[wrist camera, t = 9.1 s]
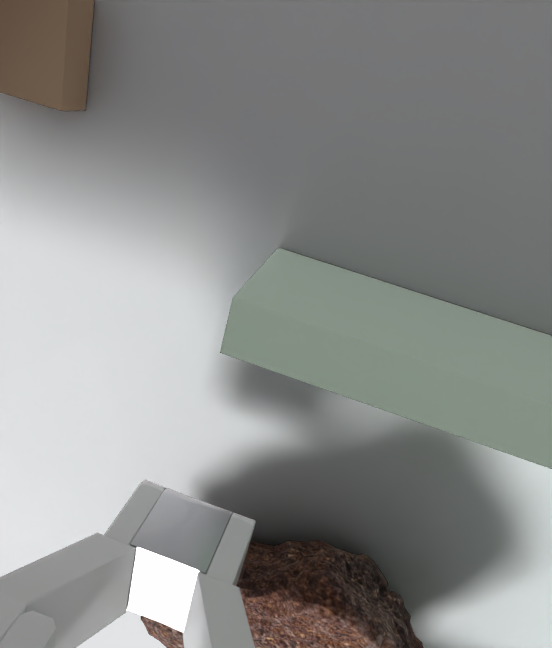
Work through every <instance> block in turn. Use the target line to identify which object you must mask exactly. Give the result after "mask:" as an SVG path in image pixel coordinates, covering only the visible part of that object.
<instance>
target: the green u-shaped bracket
mask: <svg viewBox="0 0 552 648" xmlns="http://www.w3.org/2000/svg"><path fill="white" fill-rule="evenodd" d="M220 353H222V354H225V355H228V356H231V357H234V358H236V359H239V360H242V361H245V362H248V363H251V364H254V365H256V366H259V367H262V368H265V369H268V370H271V371H274V372H276V373H279V374H282V375H285V376H288V377H291V378H294V379H296V380H299V381H302V382H305V383H308V384H311V385H314V386H316V387H319V388H322V389H325V390H328V391H331V392H334V393H336V394H339V395H342V396H345V397H348V398H351V399H353V400H356V401H359V402H362V403H365V404H368V405H371V406H373V407H376V408H379V409H382V410H385V411H388V412H391V413H393V414H396V415H399V416H402V417H405V418H408V419H411V420H413V421H416V422H419V423H422V424H425V425H428V426H431V427H433V428H436V429H439V430H442V431H445V432H448V433H451V434H453V435H456V436H459V437H462V438H465V439H468V440H471V441H473V442H476V443H479V444H482V445H485V446H488V447H490V448H493V449H496V450H499V451H502V452H505V453H508V454H510V455H513V456H516V457H519V458H522V459H525V460H528V461H530V462H533V463H536V464H539V465H542V466H545V467H548V468H550V469H552V336H551V335H548V334H545V333H542V332H538V331H535V330H532V329H529V328H526V327H523V326H520V325H517V324H514V323H510V322H507V321H504V320H501V319H498V318H495V317H492V316H489V315H486V314H483V313H479V312H476V311H473V310H470V309H467V308H464V307H461V306H458V305H455V304H452V303H448V302H445V301H442V300H439V299H436V298H433V297H430V296H427V295H424V294H421V293H417V292H414V291H411V290H408V289H405V288H402V287H399V286H396V285H393V284H389V283H386V282H383V281H380V280H377V279H374V278H371V277H368V276H365V275H362V274H358V273H355V272H352V271H349V270H346V269H343V268H340V267H337V266H334V265H331V264H327V263H324V262H321V261H318V260H315V259H312V258H309V257H306V256H303V255H300V254H296V253H293V252H290V251H287V250H284V249H281V248H277V250H276V251H275V252H274V253H273V254H272V255H271V256H270V257H269V258H268V259H267V261H266V262H265V263H264V264H263V265H262V266H261V267H260V268H259V269H258V270H257V272H256V273H255V274H254V275H253V276H252V277H251V278H250V279H249V280H248V281H247V283H246V284H245V285H244V286H243V287H242V288H241V289H240V290H239V291H238V292H237V294H236V295H235V296H234V297H233V299H232V303H231V308H230V312H229V316H228V320H227V325H226V329H225V333H224V338H223V342H222V346H221V351H220Z"/></svg>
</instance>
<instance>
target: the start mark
mask: <svg viewBox="0 0 552 648" xmlns="http://www.w3.org/2000/svg"><path fill="white" fill-rule="evenodd" d="M93 11H94V0H0V92H1V93H4V94H8V95H11V96H14V97H17V98H21V99H24V100H27V101H30V102H34V103H37V104H40V105H43V106H47V107H50V108H53V109H57V110H60V111H79V110H86V99H87V87H88V74H89V61H90V49H91V36H92V24H93Z"/></svg>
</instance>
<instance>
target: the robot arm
mask: <svg viewBox="0 0 552 648" xmlns="http://www.w3.org/2000/svg"><path fill="white" fill-rule="evenodd" d="M255 523H256V521H255V520H253V519H250V518H248V517H245V516H242V515H239V514H236V513H233V512H231V511H228V510H226V509H223V508H220V507H217V506H214V505H212V504H209V503H206V502H203V501H200V500H197V499H195V498H192V497H189V496H187V495H184V494H182V493H179V492H177V491H174V490H172V489H169V488H165V487H163V486H160V485H158V484H155V483H153V482H150V481H148V480H145V481H143V482H142V483H141V484H140V485H139V486H138V487H137V489H136V490H135V492H134V493H133V494H132V496H131V497H130V499H129V500H128V502H127V503H126V504H125V506H124V507H123V509H122V510H121V511H120V513H119V514H118V516H117V517H116V519H115V520H114V521H113V523H112V524H111V526H110V527H109V528H108V530H107V531H106V533H105V534H104V535H102V534H99V533H96V534H94V535H91V536H89V537H87V538H85V539H83V540H80V541H78V542H76V543H74V544H72V545H70V546H67V547H65V548H63V549H61V550H59V551H56V552H54V553H52V554H50V555H48V556H46V557H43V558H41V559H39V560H37V561H35V562H32V563H30V564H28V565H26V566H24V567H21V568H19V569H17V570H15V571H13V572H11V573H8V574H6V575H4V576H2V577H0V648H76V647H77V646H79V645H80V644H82V643H83V642H84V641H86V640H87V639H89V638H90V637H92V636H93V635H94V634H96V633H97V632H99V631H100V630H101V629H103V628H104V627H106V626H107V625H109V624H110V623H111V622H113V621H114V620H116V619H117V618H119V617H120V616H121V615H123V614H124V613H125V612H126V610H128V611H131V612H134V613H136V614H139V615H142V616H144V617H147V618H150V619H153V620H155V621H158V622H160V623H162V624H164V625H167V626H169V627H171V628H174V629H176V630H178V631H181V632H183V642H184V648H255V646H254V642H253V639H252V635H251V631H250V627H249V623H248V619H247V616H246V612H245V608H244V604H243V600H242V596H241V592H240V589H239V587H237V586H236V585H237V582H238V579H239V576H240V573H241V570H242V566H243V563H244V560H245V557H246V554H247V550H248V547H249V544H250V540H251V537H252V534H253V530H254V527H255Z"/></svg>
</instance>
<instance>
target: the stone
mask: <svg viewBox="0 0 552 648" xmlns="http://www.w3.org/2000/svg"><path fill="white" fill-rule="evenodd" d="M236 586H237V587H239V589H240V592H241V596H242V600H243V604H244V608H245V612H246V616H247V619H248V623H249V627H250V631H251V635H252V639H253V642H254V646H255V648H423V645H422V642H421V641H420V640H419V639H418V638H416V637H415V634H414V632H413V629H412V627H411V624H410V617H411V616H410V615H409V613H408V612H407V610H406V609H405V608H404V602H403V599H402V598H401V597H400V595H398V594H397V593H395V592H393V591H391V592H390V591H389V589H388V582H387V580H386V579H385V577H384V576H383V574H382V573H381V571H380V570H379V568H378V567H377V565H376V564H375V562H374V561H373V560H372V559H370V558H369V557H368V556H366V555H363V554H360V555H353V554H351V553H349V552H346V551H344V550H339V549H337V548H334V547H332V546H331V545H328V544H326V543H324V542H322V541H318V540H315V541H313V542H299V541H287V542H285V543H283V544H278V545H276V546H271V545H266V544H261V543H256V542H252V541H250V544H249V547H248V550H247V554H246V557H245V560H244V563H243V566H242V570H241V573H240V576H239V579H238V582H237V585H236ZM141 620H142V621H143V623H144V625H145V627H146V629H147V631H148V633H149V634H150V635H151V636H153V637H154V638H156V639H157V640H159V641H160V642H161V643H162V644H163V645H165V646H166V647H167V648H184V642H183V632H181V631H178V630H176V629H174V628H171V627H169V626H167V625H164V624H162V623H160V622H158V621H155V620H153V619H150V618H147V617H144V616H142V615H141Z"/></svg>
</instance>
